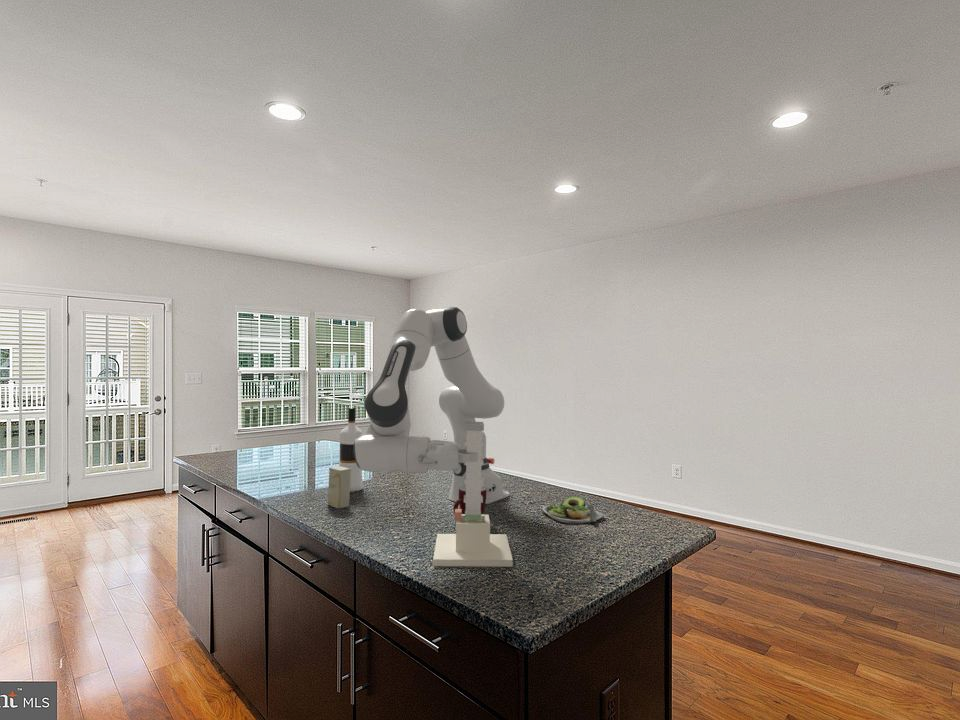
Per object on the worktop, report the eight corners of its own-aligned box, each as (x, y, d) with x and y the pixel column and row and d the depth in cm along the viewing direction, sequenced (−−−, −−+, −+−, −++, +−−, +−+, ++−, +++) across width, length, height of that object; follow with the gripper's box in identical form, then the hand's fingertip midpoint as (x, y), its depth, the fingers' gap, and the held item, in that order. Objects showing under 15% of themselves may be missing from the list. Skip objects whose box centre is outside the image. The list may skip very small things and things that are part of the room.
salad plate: (618, 525, 149) (619, 509, 149) (563, 529, 143) (563, 513, 143) (586, 507, 167) (586, 493, 167) (536, 511, 162) (536, 496, 162)
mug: (466, 531, 139) (466, 494, 139) (446, 524, 145) (446, 489, 145) (491, 523, 147) (492, 488, 147) (471, 517, 152) (472, 484, 153)
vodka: (347, 494, 179) (349, 408, 179) (331, 489, 184) (333, 407, 185) (368, 489, 186) (370, 407, 186) (352, 485, 192) (354, 406, 192)
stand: (437, 539, 132) (438, 501, 132) (506, 540, 132) (506, 501, 133) (432, 566, 114) (433, 521, 114) (512, 566, 115) (513, 522, 115)
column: (463, 515, 127) (465, 421, 127) (481, 516, 127) (483, 421, 127) (463, 523, 120) (465, 424, 121) (482, 523, 120) (484, 424, 121)
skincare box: (327, 505, 163) (328, 467, 164) (339, 502, 167) (339, 465, 167) (338, 509, 159) (339, 470, 160) (350, 506, 163) (351, 468, 163)
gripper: (417, 448, 113) (479, 449, 114) (424, 436, 134) (476, 437, 134) (416, 476, 113) (478, 477, 113) (423, 460, 133) (476, 461, 134)
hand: (477, 455), depth 124 cm, fingers closed on column, 4 cm apart
